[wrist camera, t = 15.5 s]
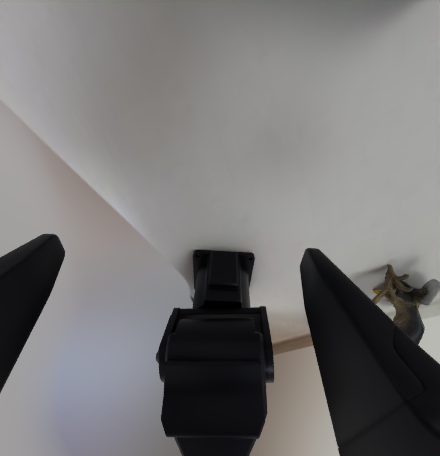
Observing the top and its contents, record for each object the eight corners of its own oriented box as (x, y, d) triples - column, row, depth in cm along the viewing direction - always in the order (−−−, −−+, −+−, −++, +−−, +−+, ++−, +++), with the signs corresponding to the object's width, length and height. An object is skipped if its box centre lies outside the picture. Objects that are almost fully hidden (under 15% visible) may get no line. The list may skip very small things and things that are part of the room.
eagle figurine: (340, 291, 30) (374, 337, 33) (398, 324, 23) (435, 377, 26) (384, 245, 31) (414, 293, 33) (453, 264, 24) (483, 322, 27)
